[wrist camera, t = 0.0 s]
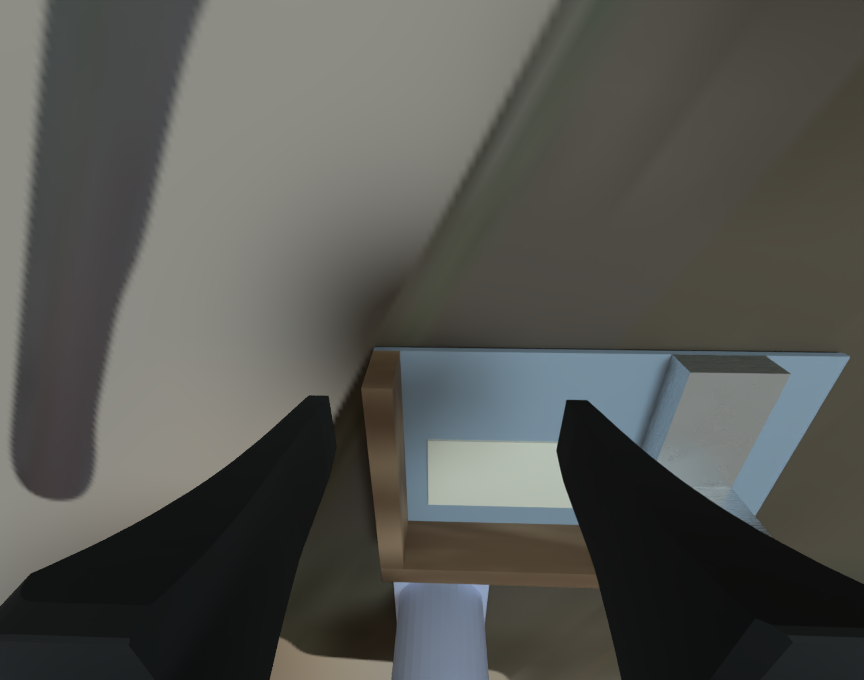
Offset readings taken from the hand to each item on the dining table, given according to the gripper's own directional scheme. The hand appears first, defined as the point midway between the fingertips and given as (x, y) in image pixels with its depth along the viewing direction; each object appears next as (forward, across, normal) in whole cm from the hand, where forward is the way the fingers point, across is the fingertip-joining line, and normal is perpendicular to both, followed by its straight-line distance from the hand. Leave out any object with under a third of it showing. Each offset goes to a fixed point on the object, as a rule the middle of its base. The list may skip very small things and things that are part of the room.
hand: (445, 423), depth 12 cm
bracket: (+10, -15, +8) cm, 19 cm away
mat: (+10, -9, +11) cm, 17 cm away
